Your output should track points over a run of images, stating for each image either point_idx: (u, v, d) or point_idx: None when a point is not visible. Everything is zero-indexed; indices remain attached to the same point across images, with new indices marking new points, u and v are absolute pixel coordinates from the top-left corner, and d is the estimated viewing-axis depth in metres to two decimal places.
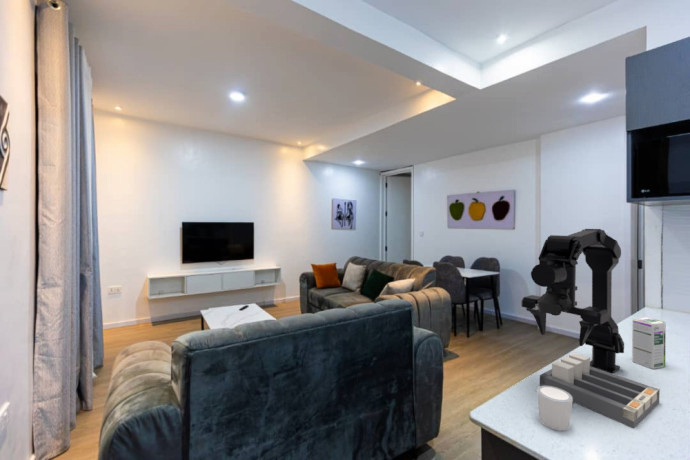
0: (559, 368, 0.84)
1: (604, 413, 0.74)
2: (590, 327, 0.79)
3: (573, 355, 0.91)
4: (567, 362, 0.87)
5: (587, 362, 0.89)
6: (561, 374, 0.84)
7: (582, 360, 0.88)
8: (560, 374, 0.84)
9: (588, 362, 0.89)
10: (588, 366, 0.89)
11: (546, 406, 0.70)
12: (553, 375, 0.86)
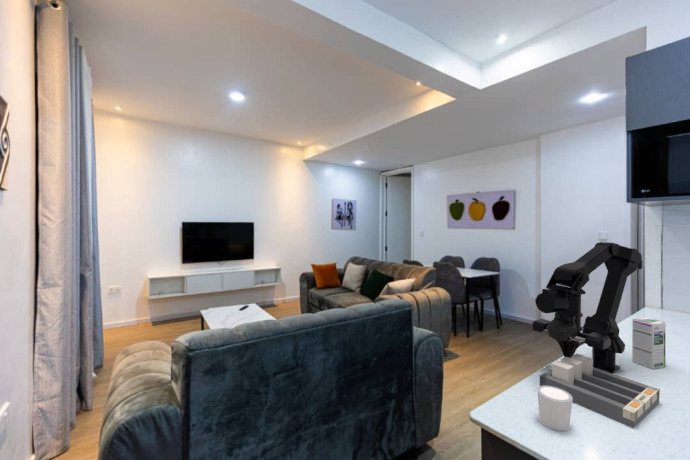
0: (559, 368, 0.84)
1: (604, 413, 0.74)
2: (576, 345, 0.92)
3: (576, 356, 0.90)
4: (567, 362, 0.87)
5: (590, 363, 0.88)
6: (561, 374, 0.84)
7: (585, 361, 0.88)
8: (560, 374, 0.84)
9: (591, 363, 0.88)
10: (591, 367, 0.88)
11: (546, 406, 0.70)
12: (553, 375, 0.86)
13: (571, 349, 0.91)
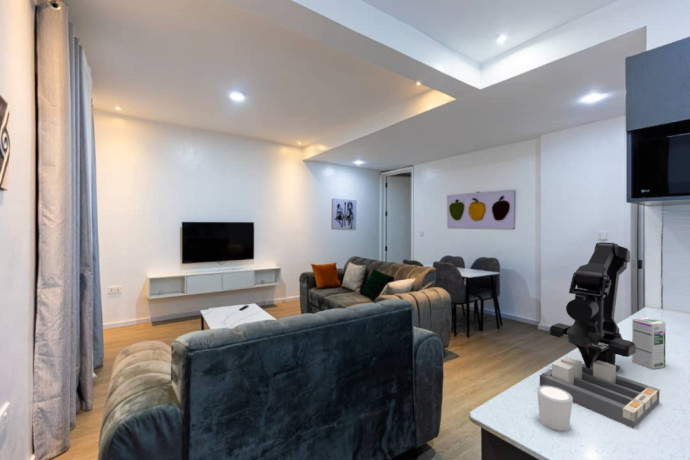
0: (559, 368, 0.84)
1: (604, 413, 0.74)
2: (597, 352, 0.87)
3: (598, 363, 0.86)
4: (567, 362, 0.87)
5: (613, 370, 0.84)
6: (561, 374, 0.84)
7: (608, 368, 0.83)
8: (560, 374, 0.84)
9: (614, 371, 0.84)
10: (614, 375, 0.84)
11: (546, 406, 0.70)
12: (553, 375, 0.86)
13: (592, 356, 0.86)
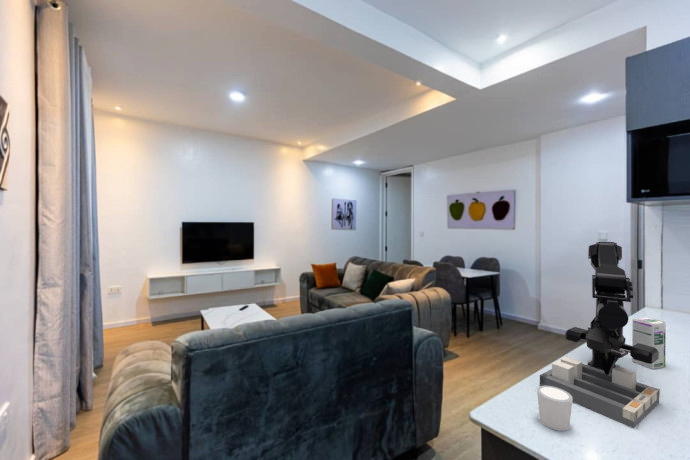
0: (559, 368, 0.84)
1: (604, 413, 0.74)
2: (616, 357, 0.84)
3: (617, 369, 0.82)
4: (567, 362, 0.87)
5: (634, 377, 0.80)
6: (561, 374, 0.84)
7: (628, 375, 0.80)
8: (560, 374, 0.84)
9: (634, 377, 0.80)
10: (635, 382, 0.80)
11: (546, 406, 0.70)
12: (553, 375, 0.86)
13: (612, 361, 0.83)
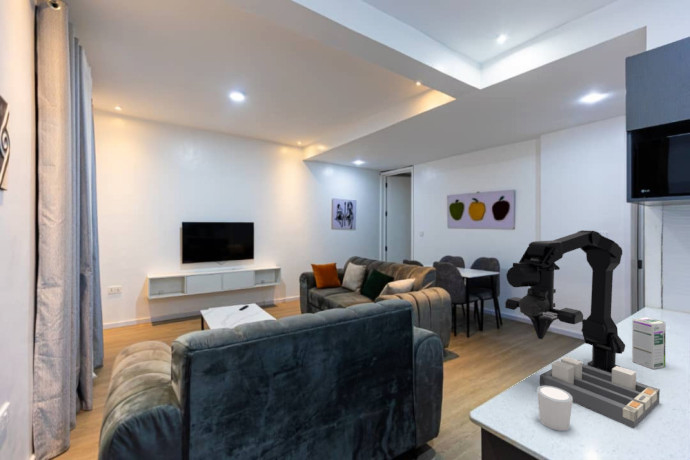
0: (559, 368, 0.84)
1: (604, 413, 0.74)
2: (549, 322, 0.89)
3: (617, 369, 0.82)
4: (567, 362, 0.87)
5: (633, 377, 0.80)
6: (561, 374, 0.84)
7: (628, 375, 0.80)
8: (560, 374, 0.84)
9: (634, 377, 0.80)
10: (634, 381, 0.80)
11: (546, 406, 0.70)
12: (553, 375, 0.86)
13: (543, 326, 0.88)
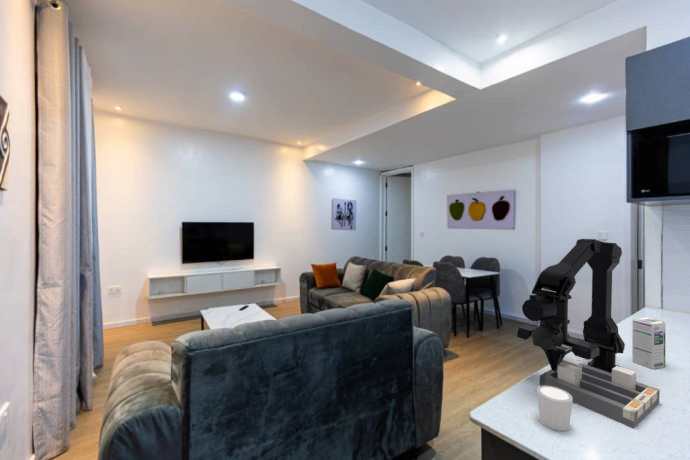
0: (565, 370, 0.83)
1: (604, 413, 0.74)
2: (563, 354, 0.86)
3: (617, 369, 0.82)
4: (567, 362, 0.87)
5: (633, 377, 0.80)
6: (567, 376, 0.83)
7: (628, 375, 0.80)
8: (566, 376, 0.83)
9: (634, 377, 0.80)
10: (634, 381, 0.80)
11: (546, 406, 0.70)
12: (559, 377, 0.84)
13: (557, 358, 0.85)
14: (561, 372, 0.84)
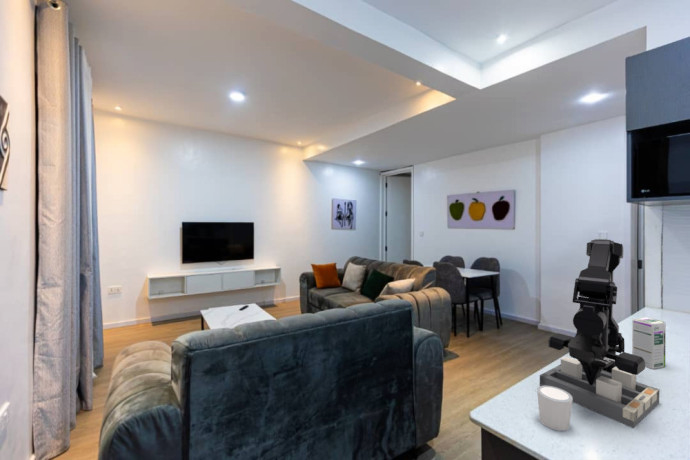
0: (605, 385, 0.76)
1: (604, 413, 0.74)
2: (601, 367, 0.79)
3: (617, 369, 0.82)
4: (567, 362, 0.87)
5: (633, 377, 0.80)
6: (608, 392, 0.75)
7: (628, 375, 0.80)
8: (606, 391, 0.76)
9: (634, 377, 0.80)
10: (634, 381, 0.80)
11: (546, 406, 0.70)
12: (598, 392, 0.77)
13: (596, 371, 0.77)
14: (600, 387, 0.77)
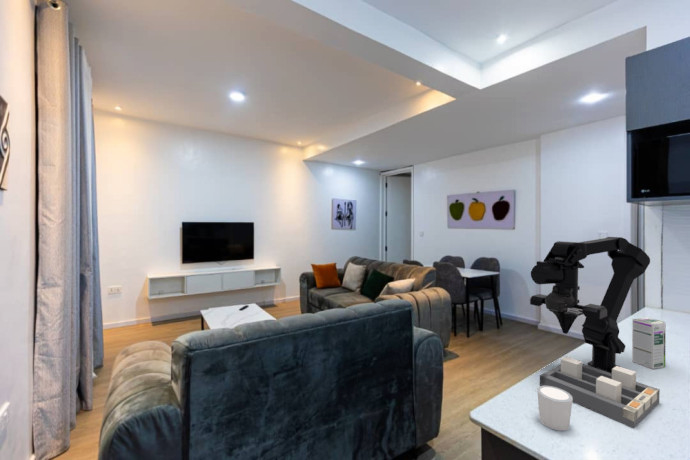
0: (605, 385, 0.76)
1: (604, 413, 0.74)
2: (573, 318, 0.94)
3: (617, 369, 0.82)
4: (567, 362, 0.87)
5: (633, 377, 0.80)
6: (607, 392, 0.75)
7: (628, 375, 0.80)
8: (606, 391, 0.76)
9: (634, 377, 0.80)
10: (634, 381, 0.80)
11: (546, 406, 0.70)
12: (597, 392, 0.77)
13: (568, 321, 0.93)
14: (600, 386, 0.77)
